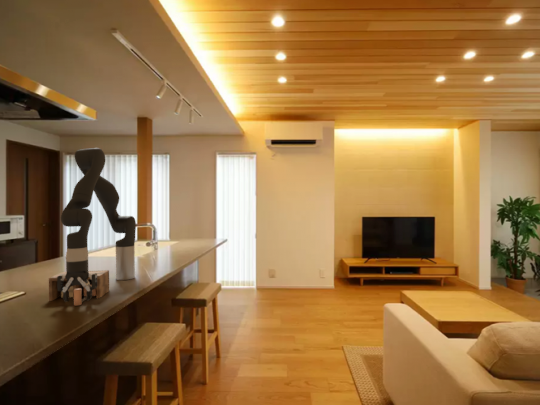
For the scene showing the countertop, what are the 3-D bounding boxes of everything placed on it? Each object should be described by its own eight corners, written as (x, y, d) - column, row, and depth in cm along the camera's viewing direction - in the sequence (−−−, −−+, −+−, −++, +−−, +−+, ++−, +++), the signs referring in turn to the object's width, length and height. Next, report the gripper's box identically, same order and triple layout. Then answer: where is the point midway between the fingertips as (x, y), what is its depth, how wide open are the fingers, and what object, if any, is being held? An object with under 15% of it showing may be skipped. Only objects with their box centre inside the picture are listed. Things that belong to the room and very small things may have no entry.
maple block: (66, 294, 144) (66, 283, 144) (78, 294, 145) (78, 283, 145) (61, 297, 139) (61, 286, 139) (73, 297, 140) (73, 286, 140)
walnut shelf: (62, 292, 146) (62, 272, 146) (109, 290, 149) (109, 270, 149) (49, 300, 135) (48, 278, 135) (99, 298, 138) (99, 276, 138)
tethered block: (88, 293, 145) (88, 279, 145) (99, 292, 145) (99, 279, 145) (69, 305, 127) (69, 290, 127) (83, 305, 128) (82, 289, 128)
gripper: (100, 257, 133) (100, 297, 133) (62, 258, 131) (62, 299, 131) (93, 260, 126) (93, 302, 126) (52, 261, 124) (53, 304, 124)
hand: (77, 300), depth 129 cm, fingers open, 7 cm apart
